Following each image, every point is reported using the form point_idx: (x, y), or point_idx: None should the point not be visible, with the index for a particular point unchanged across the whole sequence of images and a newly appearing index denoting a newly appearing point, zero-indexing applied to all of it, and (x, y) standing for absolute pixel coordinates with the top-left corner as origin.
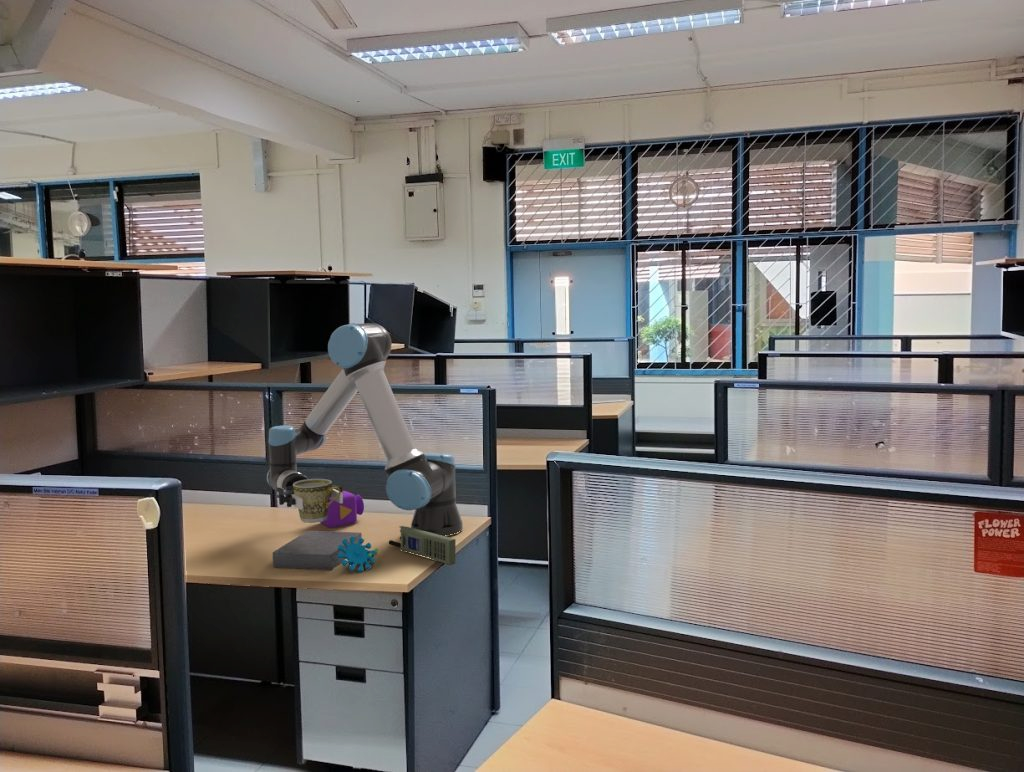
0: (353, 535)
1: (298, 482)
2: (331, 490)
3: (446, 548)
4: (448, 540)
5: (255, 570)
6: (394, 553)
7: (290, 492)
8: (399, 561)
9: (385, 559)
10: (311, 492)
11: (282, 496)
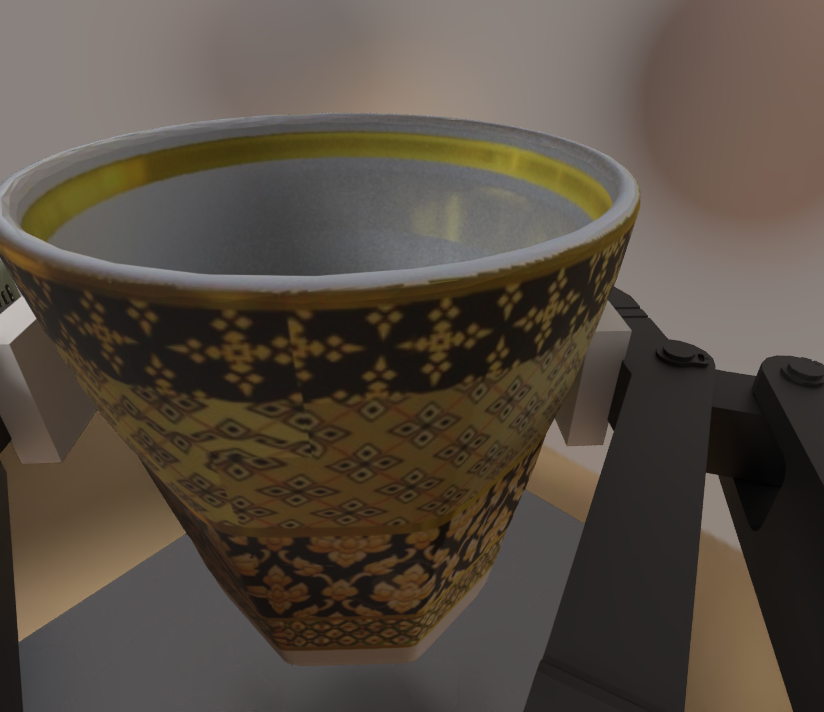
0: (42, 657)
1: (528, 267)
2: (27, 352)
3: (15, 295)
4: (1, 264)
5: (771, 654)
6: (10, 517)
7: (669, 453)
8: (104, 425)
9: (118, 468)
10: (421, 177)
11: (768, 368)
